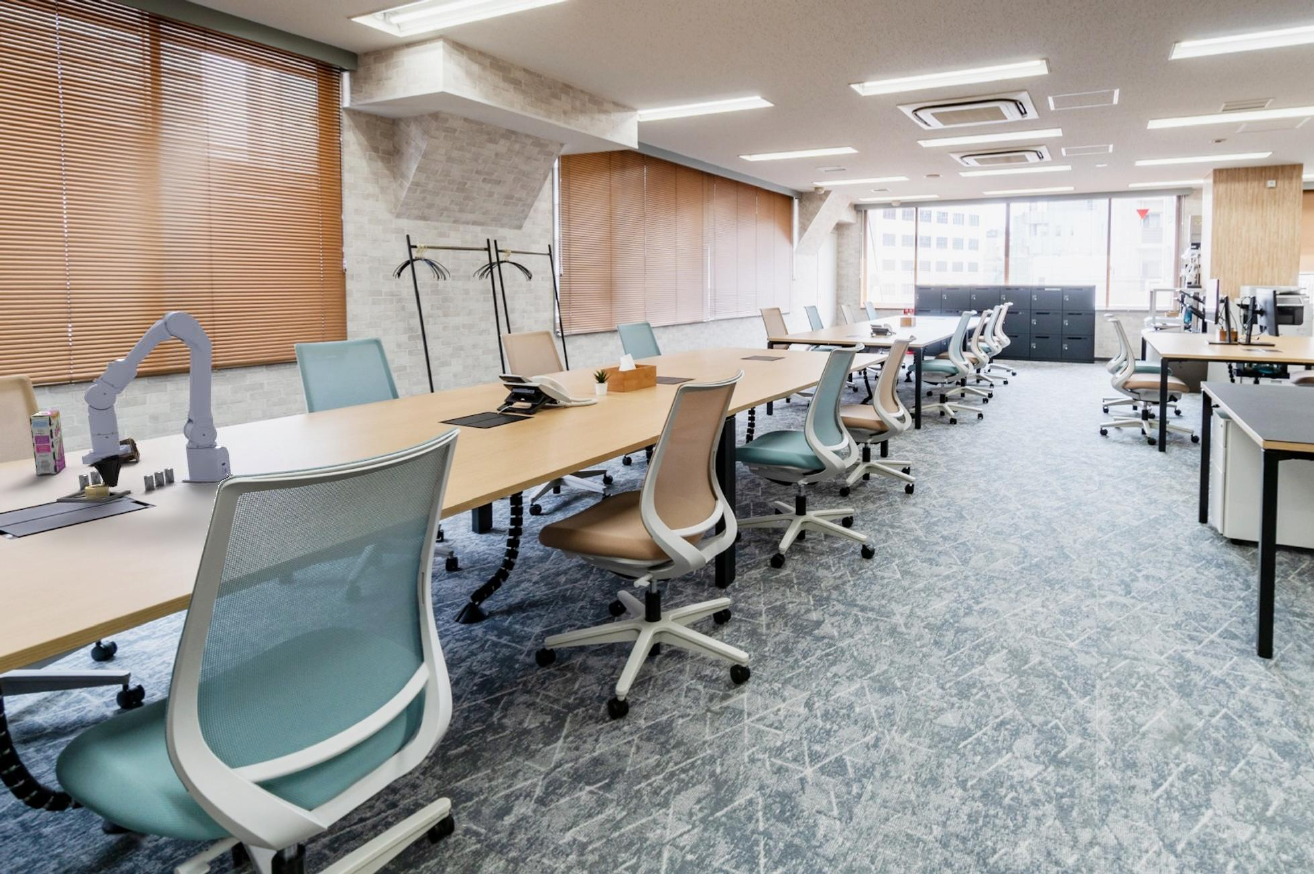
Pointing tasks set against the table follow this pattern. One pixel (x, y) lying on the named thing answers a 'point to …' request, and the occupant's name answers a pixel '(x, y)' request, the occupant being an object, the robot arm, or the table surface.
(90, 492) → the nut
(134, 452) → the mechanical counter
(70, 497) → the frame
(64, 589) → the table surface
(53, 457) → the candy bar box
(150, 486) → the metal pins
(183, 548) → the table surface
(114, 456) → the robot arm
